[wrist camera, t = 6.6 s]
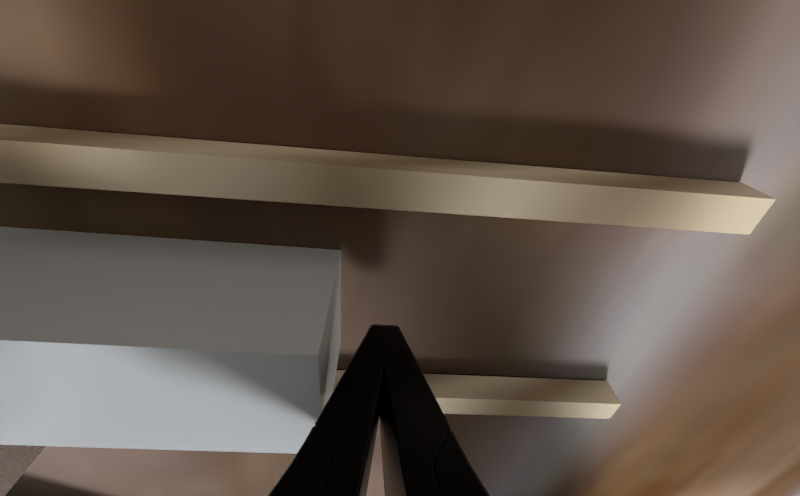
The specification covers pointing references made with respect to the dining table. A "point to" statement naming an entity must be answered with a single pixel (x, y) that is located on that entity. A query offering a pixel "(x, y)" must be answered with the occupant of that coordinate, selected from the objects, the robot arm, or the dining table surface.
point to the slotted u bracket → (15, 463)
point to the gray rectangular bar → (164, 341)
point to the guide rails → (393, 190)
